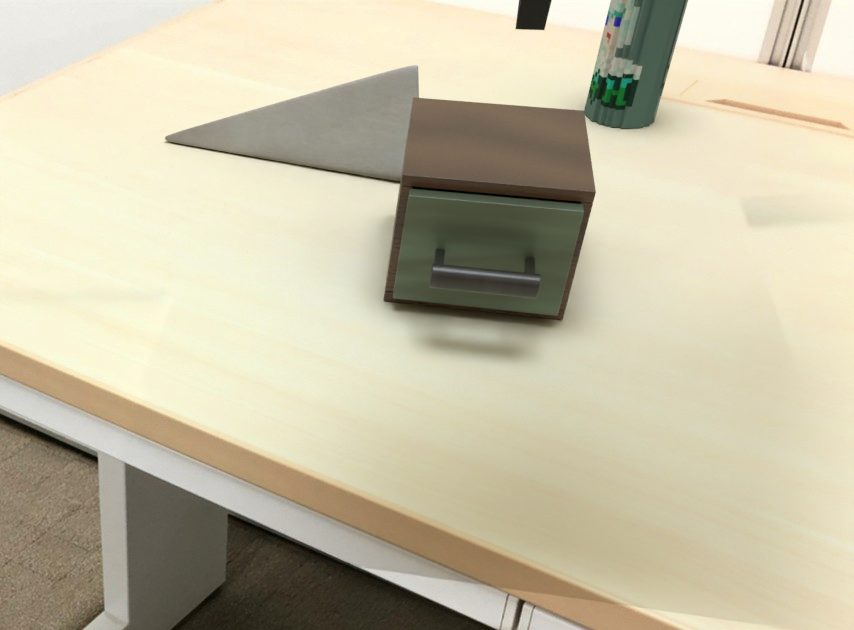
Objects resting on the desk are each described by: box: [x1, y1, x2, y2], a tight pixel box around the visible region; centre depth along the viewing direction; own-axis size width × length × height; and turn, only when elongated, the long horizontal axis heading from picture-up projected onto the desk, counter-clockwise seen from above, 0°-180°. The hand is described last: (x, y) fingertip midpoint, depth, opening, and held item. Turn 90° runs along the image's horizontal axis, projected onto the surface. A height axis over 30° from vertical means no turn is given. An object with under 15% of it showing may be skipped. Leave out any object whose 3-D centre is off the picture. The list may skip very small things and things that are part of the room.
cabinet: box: [383, 97, 597, 320], centre depth 92 cm, size 15×13×10 cm
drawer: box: [393, 187, 584, 316], centre depth 89 cm, size 18×11×8 cm, turn 167°
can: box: [583, 0, 689, 130], centre depth 112 cm, size 6×6×15 cm
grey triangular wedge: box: [164, 64, 420, 182], centre depth 109 cm, size 10×8×22 cm
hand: (532, 5), depth 66 cm, fingers closed
